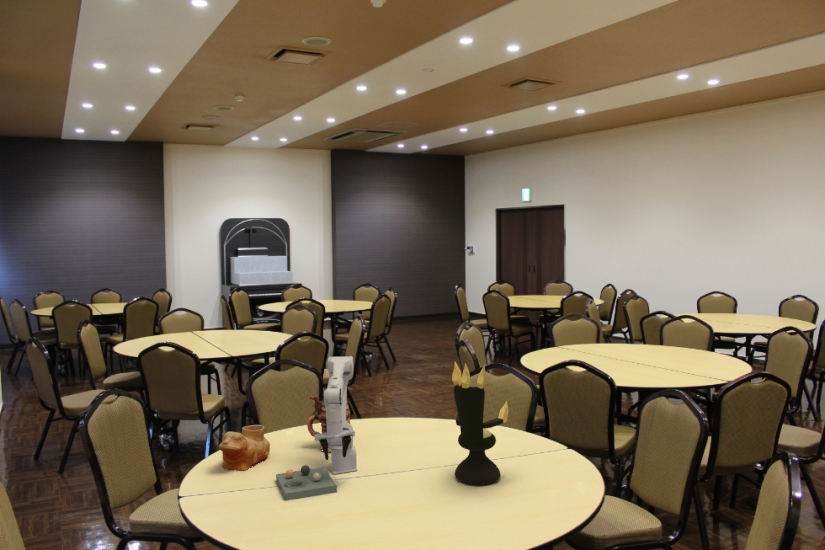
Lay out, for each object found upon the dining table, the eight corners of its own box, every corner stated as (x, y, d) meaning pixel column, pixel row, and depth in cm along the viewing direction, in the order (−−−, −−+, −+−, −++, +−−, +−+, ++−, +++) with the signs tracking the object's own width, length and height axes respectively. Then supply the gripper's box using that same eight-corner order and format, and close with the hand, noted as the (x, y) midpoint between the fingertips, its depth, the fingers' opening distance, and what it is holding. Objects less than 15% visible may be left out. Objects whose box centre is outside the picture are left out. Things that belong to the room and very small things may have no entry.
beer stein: (359, 451, 281) (328, 440, 292) (367, 387, 281) (336, 378, 291) (333, 458, 268) (302, 446, 278) (341, 390, 267) (309, 381, 278)
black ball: (309, 472, 243) (308, 463, 243) (311, 475, 240) (310, 466, 240) (300, 473, 242) (299, 464, 242) (301, 476, 239) (301, 467, 239)
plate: (323, 473, 249) (323, 467, 249) (336, 492, 230) (336, 485, 230) (276, 480, 242) (276, 474, 242) (285, 500, 224) (285, 493, 224)
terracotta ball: (293, 475, 240) (292, 467, 240) (294, 478, 237) (294, 470, 237) (284, 477, 239) (284, 469, 239) (286, 480, 236) (286, 471, 236)
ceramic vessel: (209, 472, 253) (207, 434, 252) (250, 451, 277) (248, 416, 276) (238, 476, 248) (237, 437, 247) (277, 454, 272) (276, 419, 271)
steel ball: (320, 478, 237) (320, 470, 237) (322, 481, 234) (322, 472, 234) (311, 480, 236) (311, 471, 235) (313, 483, 233) (313, 474, 232)
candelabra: (510, 473, 245) (508, 354, 242) (492, 494, 225) (490, 365, 222) (463, 466, 253) (461, 351, 250) (441, 487, 233) (438, 362, 230)
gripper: (317, 426, 230) (318, 464, 230) (356, 421, 235) (357, 458, 236) (312, 421, 236) (314, 458, 237) (351, 416, 241) (352, 452, 242)
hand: (335, 457), depth 237 cm, fingers open, 6 cm apart
